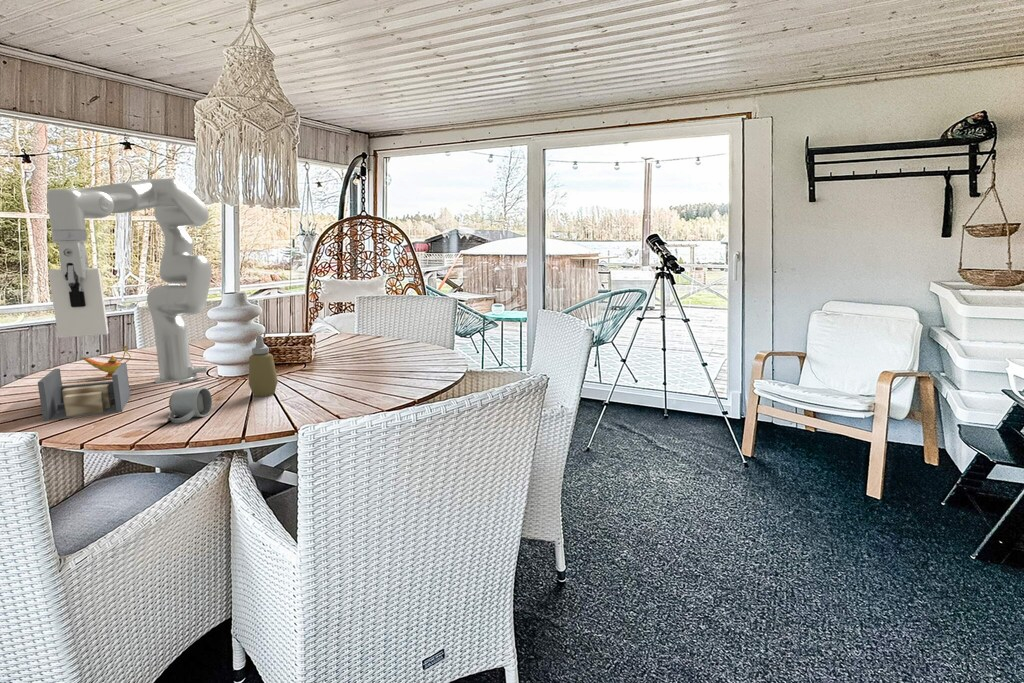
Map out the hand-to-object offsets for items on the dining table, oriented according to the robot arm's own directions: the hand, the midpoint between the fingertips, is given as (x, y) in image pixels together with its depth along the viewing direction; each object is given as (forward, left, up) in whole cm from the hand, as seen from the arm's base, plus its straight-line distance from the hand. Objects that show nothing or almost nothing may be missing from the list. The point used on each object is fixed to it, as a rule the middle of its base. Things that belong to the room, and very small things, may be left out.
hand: (79, 305), depth 166 cm
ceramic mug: (-25, +22, -29) cm, 44 cm away
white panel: (0, 0, -8) cm, 8 cm away
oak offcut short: (0, +10, -28) cm, 29 cm away
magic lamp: (+3, -48, -29) cm, 56 cm away
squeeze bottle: (-44, +6, -29) cm, 53 cm away
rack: (0, +4, -29) cm, 29 cm away
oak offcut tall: (0, +6, -28) cm, 28 cm away
